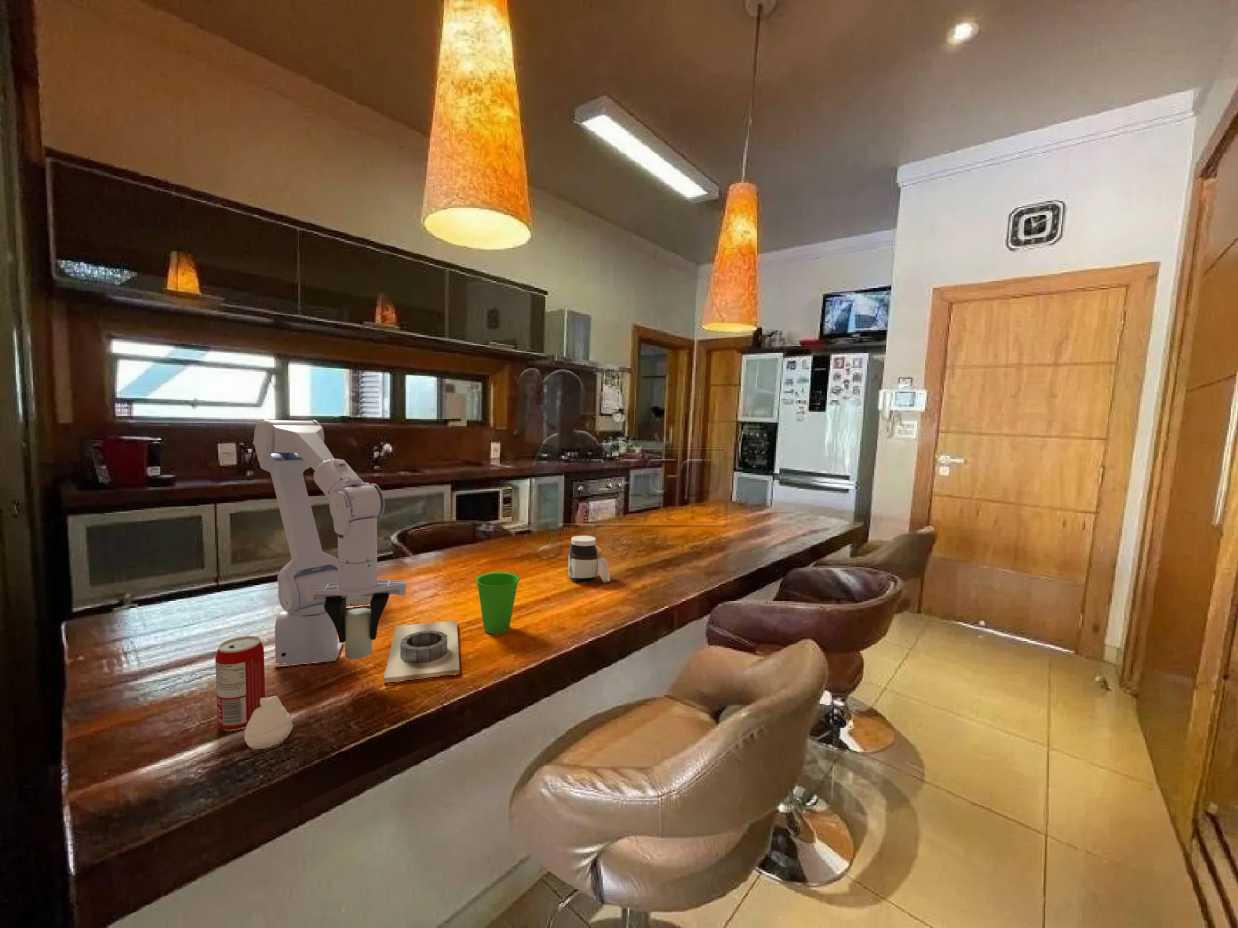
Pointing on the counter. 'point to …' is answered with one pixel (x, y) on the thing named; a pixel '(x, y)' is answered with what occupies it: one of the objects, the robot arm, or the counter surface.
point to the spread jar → (586, 561)
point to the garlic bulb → (268, 724)
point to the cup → (497, 600)
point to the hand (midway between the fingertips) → (358, 638)
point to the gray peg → (358, 633)
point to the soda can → (239, 680)
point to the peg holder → (423, 651)
